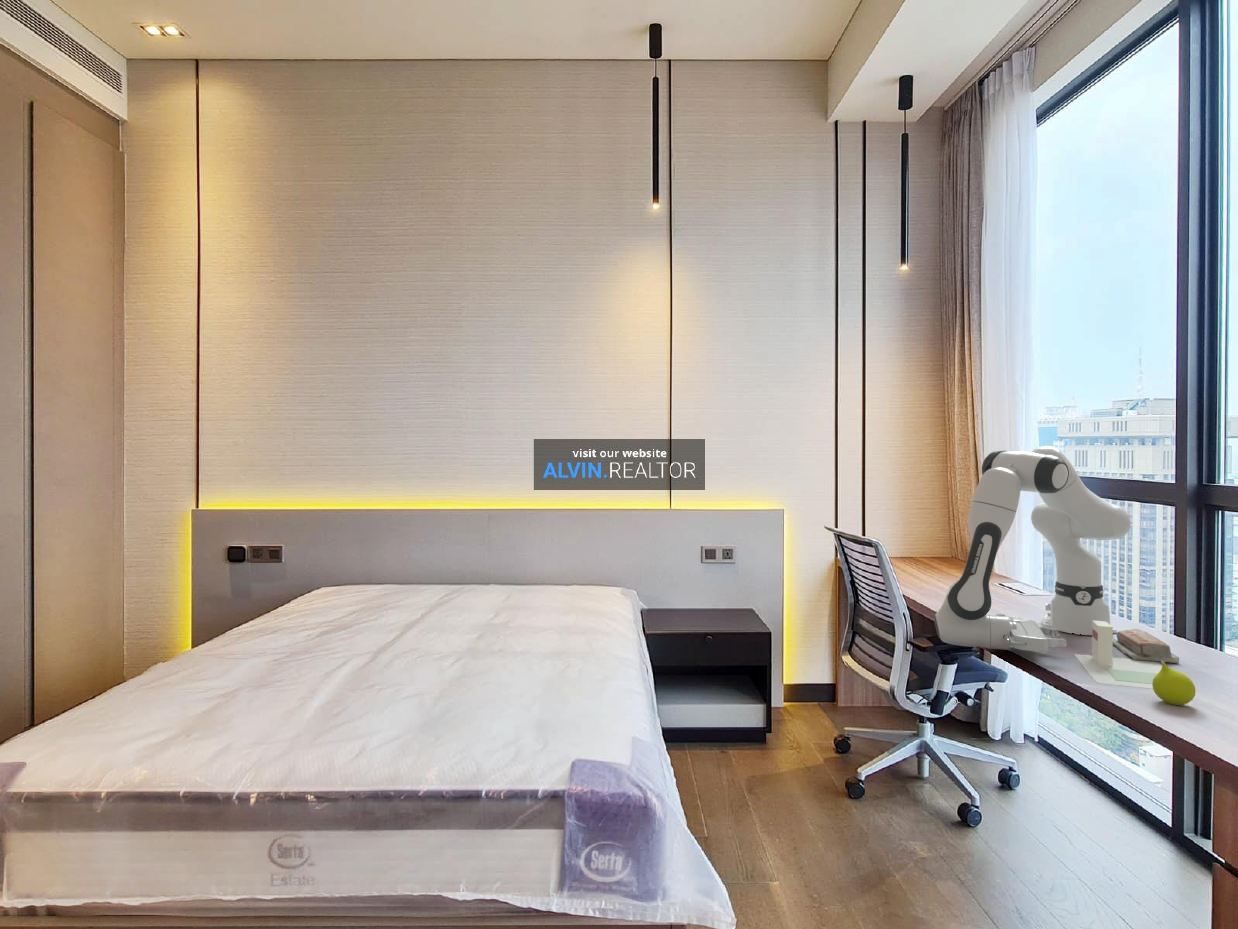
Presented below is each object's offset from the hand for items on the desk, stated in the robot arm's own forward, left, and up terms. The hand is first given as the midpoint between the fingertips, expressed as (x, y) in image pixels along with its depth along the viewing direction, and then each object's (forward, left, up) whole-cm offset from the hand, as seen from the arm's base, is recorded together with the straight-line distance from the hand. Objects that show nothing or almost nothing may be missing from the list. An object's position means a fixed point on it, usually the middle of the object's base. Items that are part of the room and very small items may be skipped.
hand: (1062, 637), depth 172 cm
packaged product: (-14, +21, -6) cm, 25 cm away
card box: (0, +9, -6) cm, 10 cm away
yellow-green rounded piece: (+26, +16, -6) cm, 31 cm away
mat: (+6, +13, -6) cm, 15 cm away
